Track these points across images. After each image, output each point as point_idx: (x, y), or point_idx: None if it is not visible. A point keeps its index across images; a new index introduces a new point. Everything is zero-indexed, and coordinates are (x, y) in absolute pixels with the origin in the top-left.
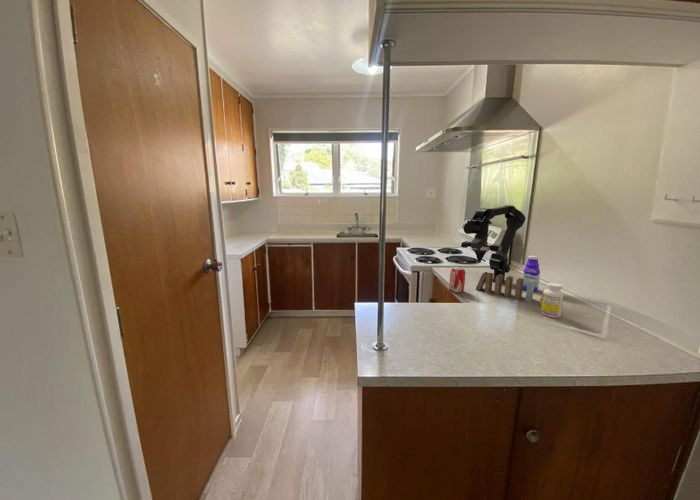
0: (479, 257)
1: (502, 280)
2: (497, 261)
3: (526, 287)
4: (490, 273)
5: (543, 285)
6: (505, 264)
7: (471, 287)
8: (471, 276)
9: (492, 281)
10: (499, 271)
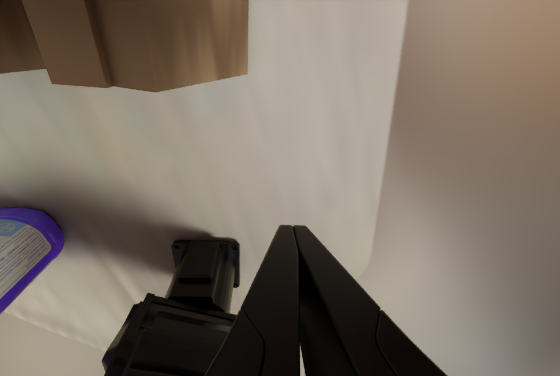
0: (297, 291)
1: (180, 262)
2: (152, 374)
3: (7, 214)
4: (61, 32)
5: (44, 314)
6: (103, 362)
7: (294, 36)
8: (345, 262)
9: None
10: (181, 302)
